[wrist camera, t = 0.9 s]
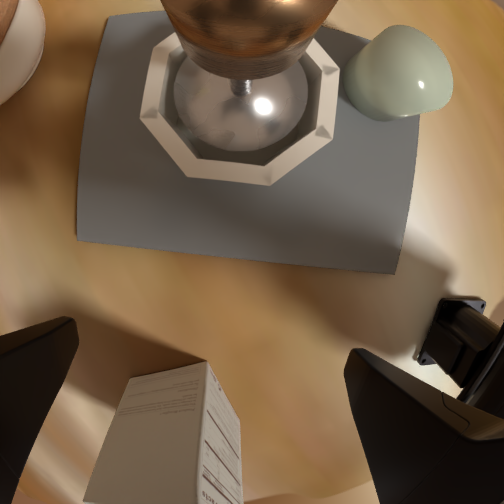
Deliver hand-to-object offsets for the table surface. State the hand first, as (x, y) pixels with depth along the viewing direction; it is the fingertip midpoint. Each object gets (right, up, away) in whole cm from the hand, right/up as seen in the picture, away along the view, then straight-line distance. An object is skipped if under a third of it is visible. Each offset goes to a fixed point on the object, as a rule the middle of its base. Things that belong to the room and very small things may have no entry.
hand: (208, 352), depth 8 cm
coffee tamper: (+1, +10, +3) cm, 11 cm away
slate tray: (+1, +10, +8) cm, 13 cm away
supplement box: (-4, -9, +14) cm, 17 cm away
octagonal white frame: (+1, +11, +7) cm, 14 cm away
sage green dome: (+9, +14, +7) cm, 18 cm away
